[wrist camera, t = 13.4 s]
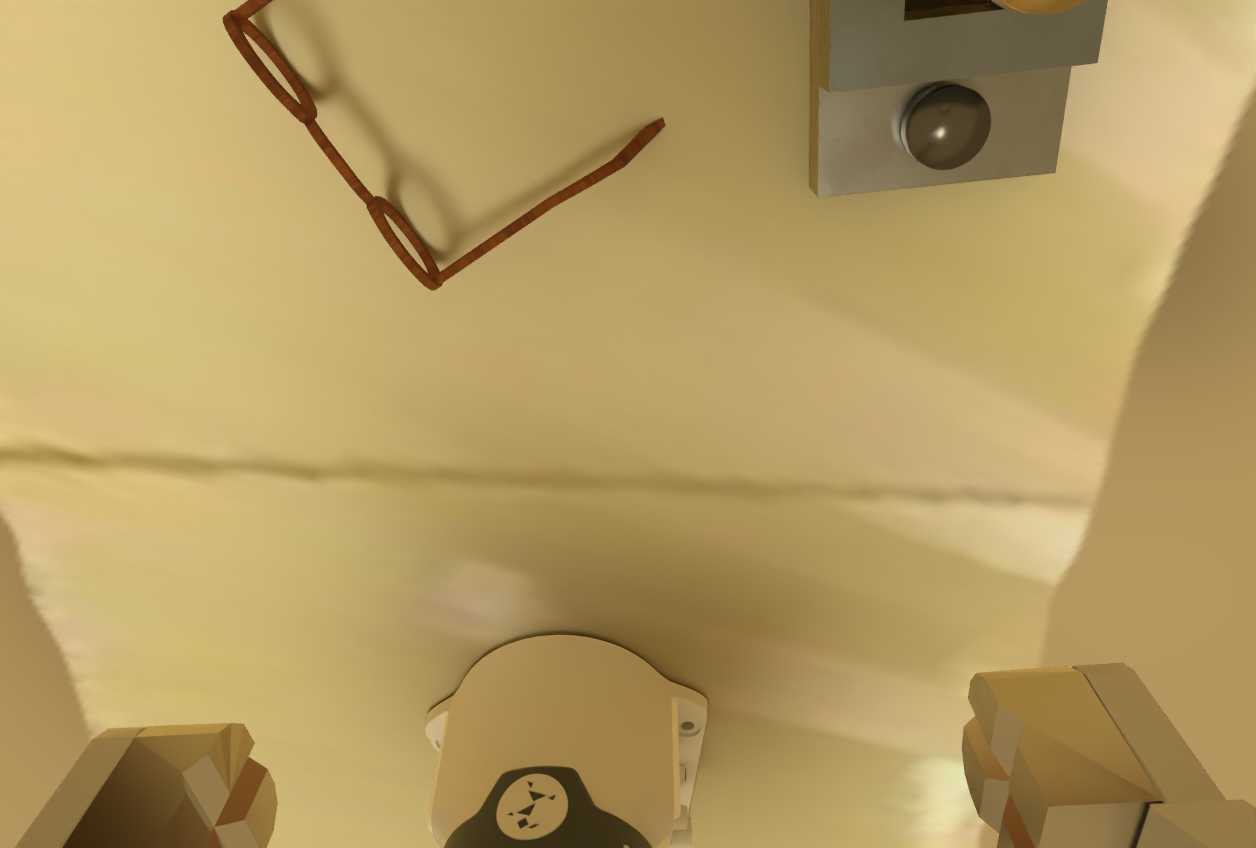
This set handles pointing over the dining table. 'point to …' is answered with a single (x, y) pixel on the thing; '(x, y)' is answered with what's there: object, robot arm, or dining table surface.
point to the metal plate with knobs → (939, 91)
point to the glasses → (377, 205)
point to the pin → (1038, 5)
